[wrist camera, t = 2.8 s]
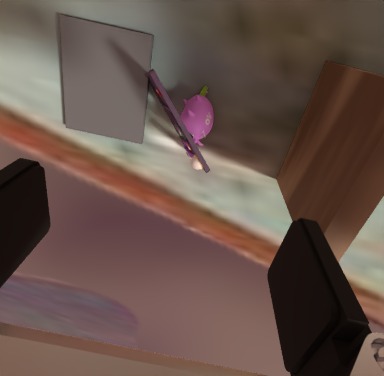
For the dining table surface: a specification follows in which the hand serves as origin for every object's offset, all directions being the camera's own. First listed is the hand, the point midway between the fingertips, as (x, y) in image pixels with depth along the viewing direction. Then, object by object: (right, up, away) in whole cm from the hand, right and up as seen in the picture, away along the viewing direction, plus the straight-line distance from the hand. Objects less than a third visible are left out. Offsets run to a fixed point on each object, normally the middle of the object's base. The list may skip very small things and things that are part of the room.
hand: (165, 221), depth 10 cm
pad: (-7, +11, +15) cm, 20 cm away
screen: (+12, +7, +16) cm, 21 cm away
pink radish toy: (+1, +9, +16) cm, 19 cm away
